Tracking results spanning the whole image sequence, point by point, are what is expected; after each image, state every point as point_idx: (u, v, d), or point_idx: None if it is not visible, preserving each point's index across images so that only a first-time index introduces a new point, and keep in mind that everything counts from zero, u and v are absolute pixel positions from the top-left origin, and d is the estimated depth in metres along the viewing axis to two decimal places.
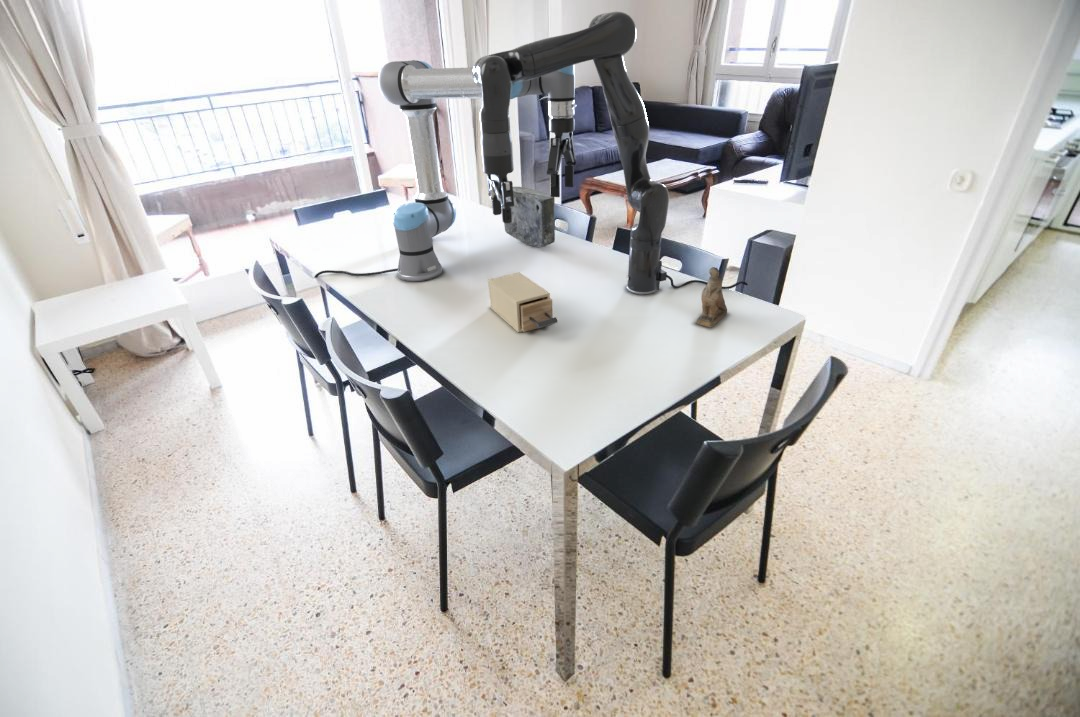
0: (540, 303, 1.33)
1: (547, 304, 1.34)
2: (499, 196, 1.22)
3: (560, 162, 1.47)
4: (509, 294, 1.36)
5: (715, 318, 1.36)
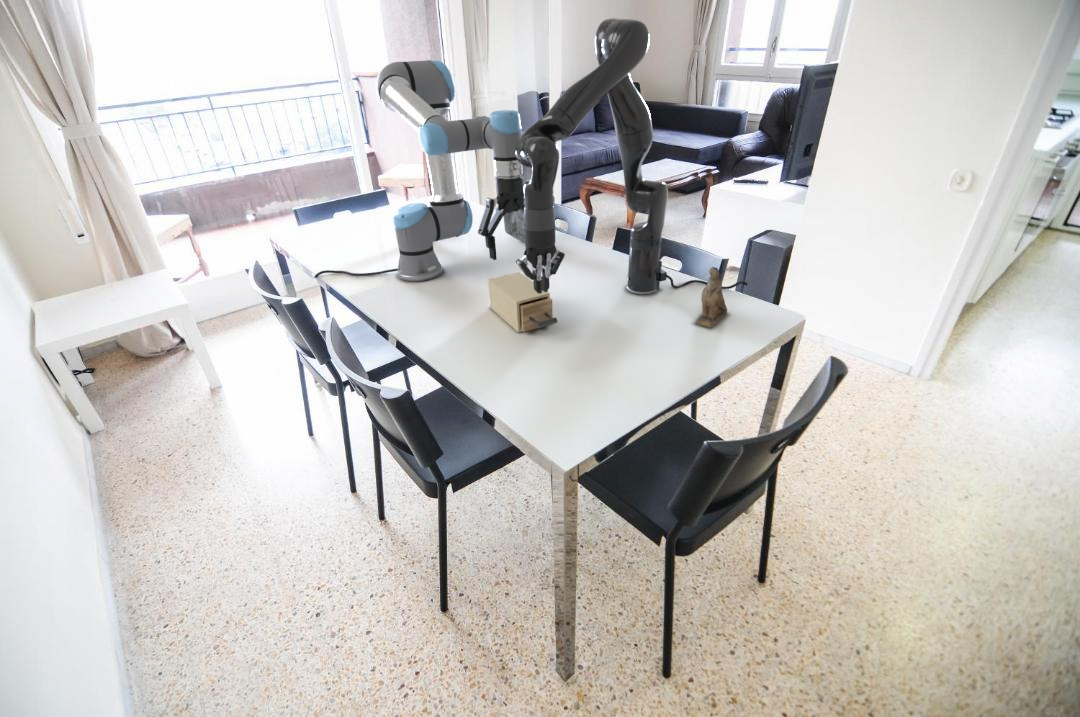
0: (540, 303, 1.33)
1: (547, 304, 1.34)
2: (531, 267, 1.25)
3: (497, 224, 1.34)
4: (509, 294, 1.36)
5: (715, 318, 1.36)
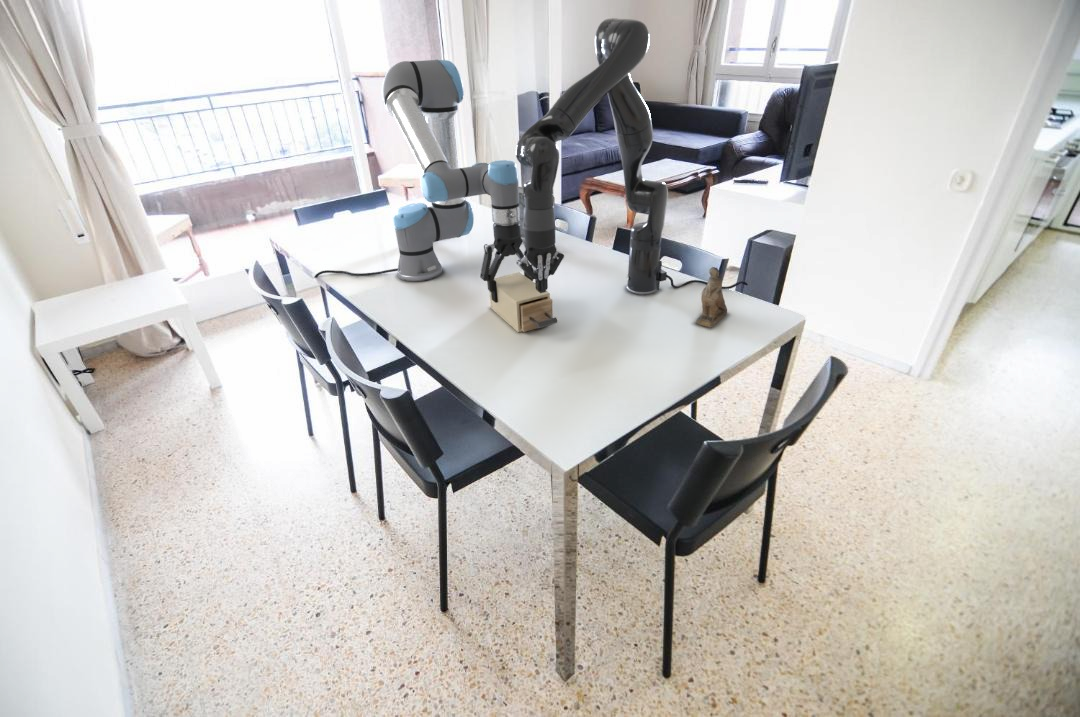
0: (540, 303, 1.33)
1: (547, 304, 1.34)
2: (532, 267, 1.25)
3: (497, 268, 1.39)
4: (509, 294, 1.36)
5: (715, 318, 1.36)
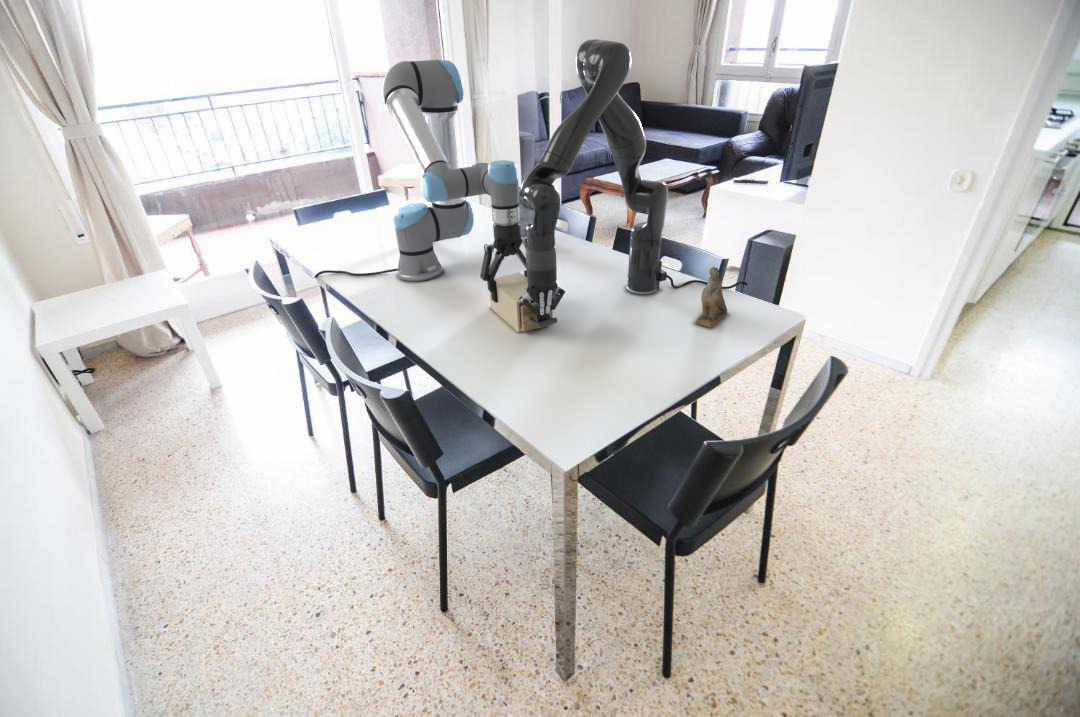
0: None
1: None
2: (534, 302, 1.30)
3: (497, 268, 1.39)
4: (509, 294, 1.36)
5: (715, 318, 1.36)
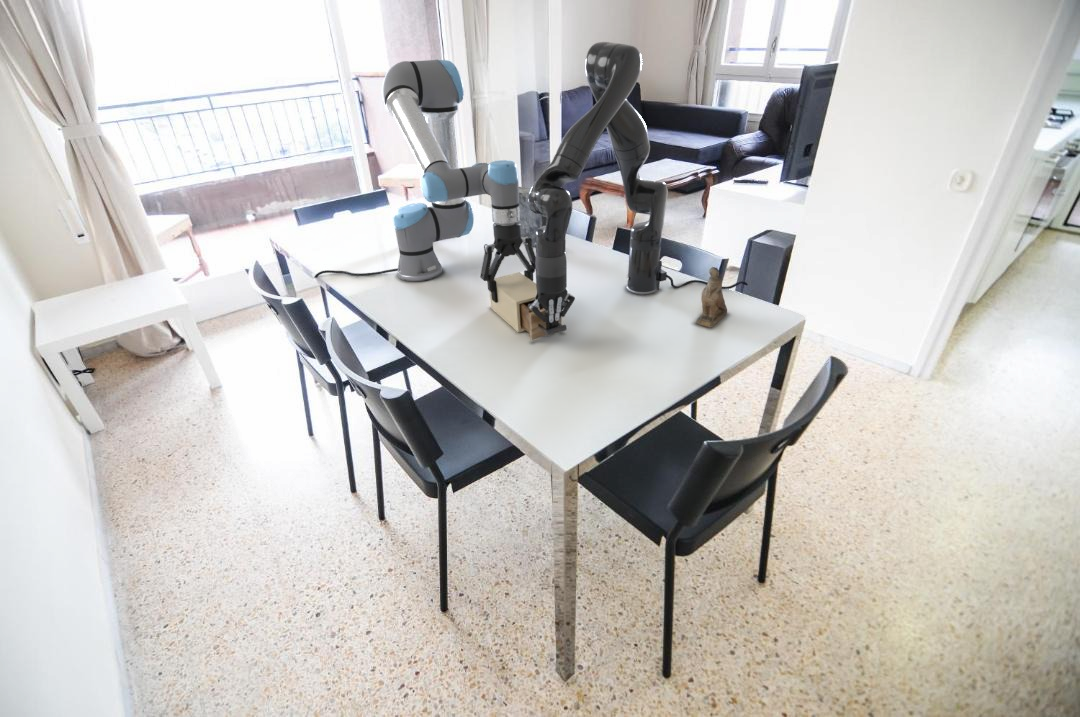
0: None
1: None
2: (543, 309, 1.26)
3: (498, 268, 1.39)
4: (509, 294, 1.36)
5: (715, 318, 1.36)
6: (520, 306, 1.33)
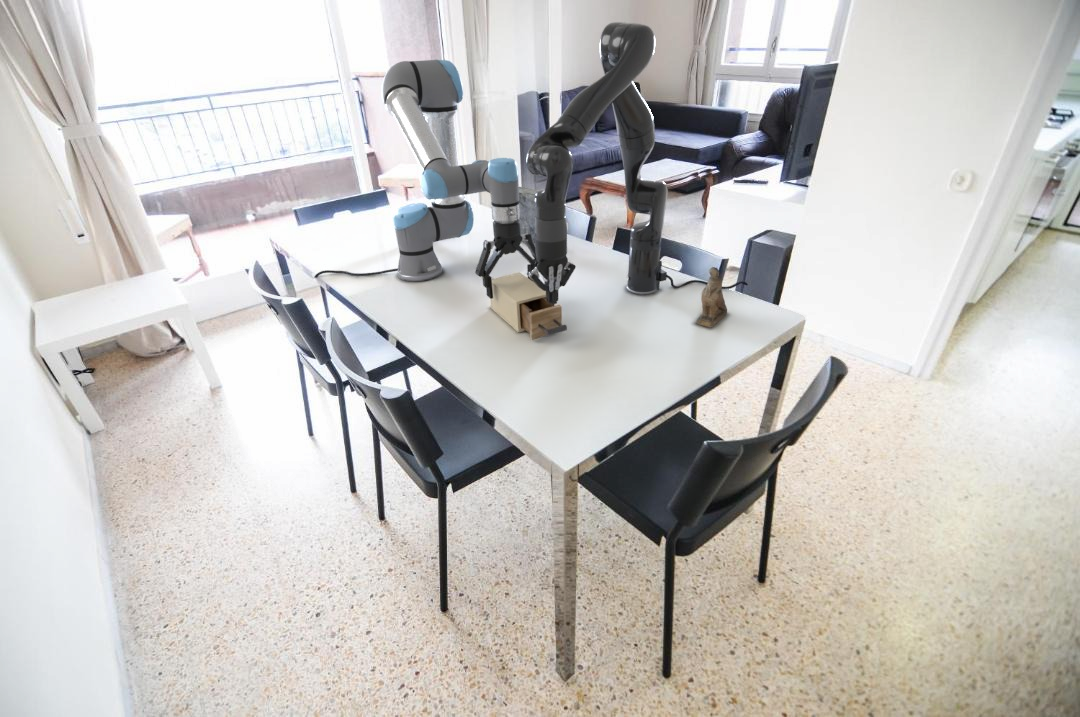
0: (549, 310, 1.29)
1: (556, 311, 1.31)
2: (543, 278, 1.22)
3: (494, 265, 1.38)
4: (510, 294, 1.36)
5: (715, 318, 1.36)
6: (520, 306, 1.33)
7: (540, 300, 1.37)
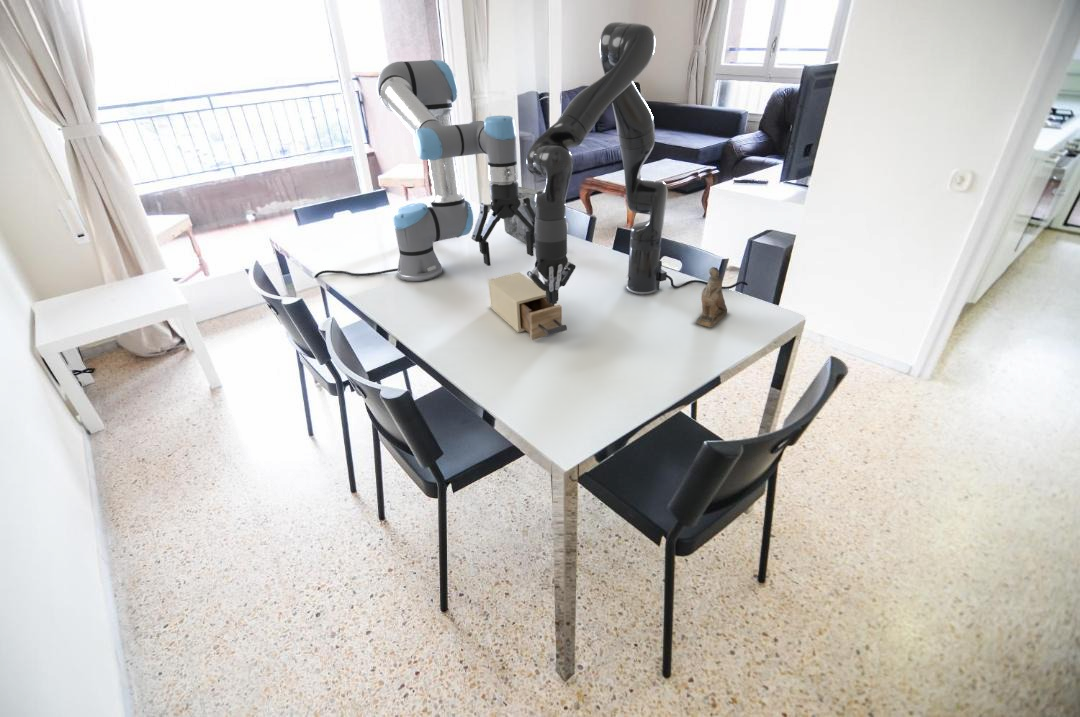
0: (549, 310, 1.29)
1: (556, 311, 1.31)
2: (543, 278, 1.22)
3: (491, 230, 1.33)
4: (510, 294, 1.36)
5: (715, 318, 1.36)
6: (520, 306, 1.33)
7: (540, 300, 1.37)
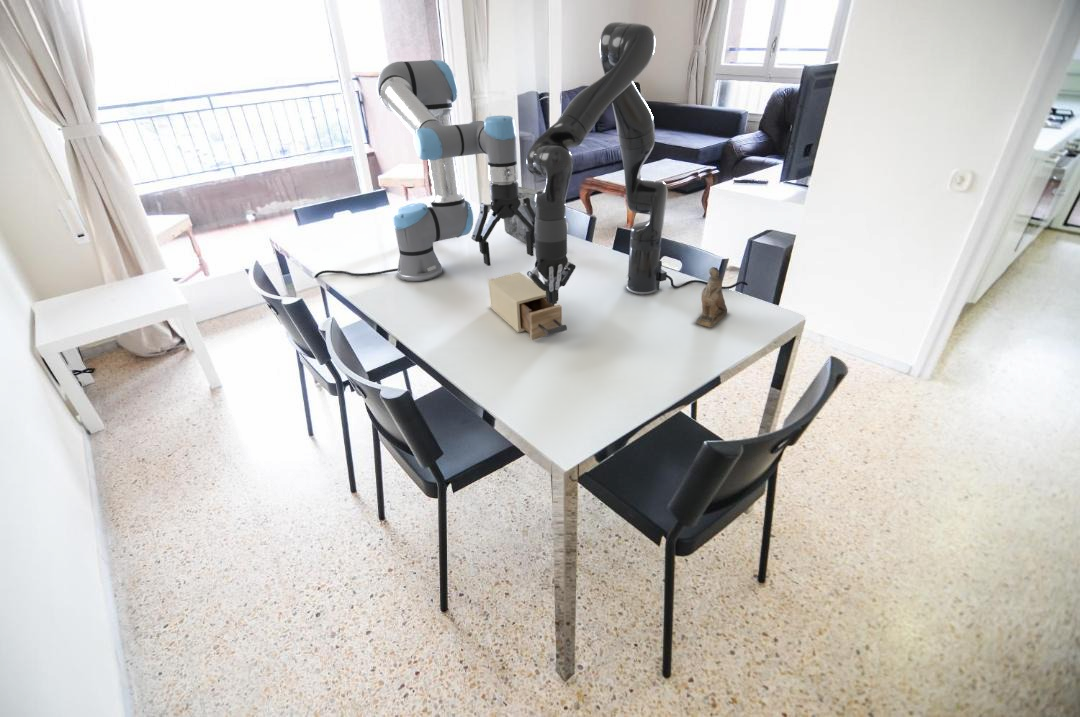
0: (549, 310, 1.29)
1: (556, 311, 1.31)
2: (543, 278, 1.22)
3: (491, 230, 1.33)
4: (510, 294, 1.36)
5: (715, 318, 1.36)
6: (520, 306, 1.33)
7: (540, 300, 1.37)
